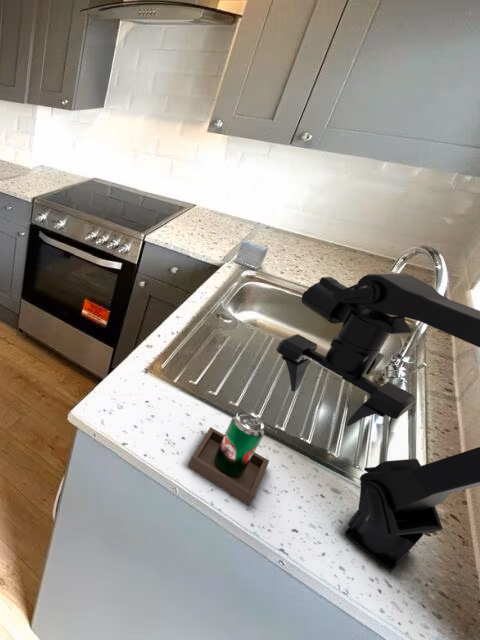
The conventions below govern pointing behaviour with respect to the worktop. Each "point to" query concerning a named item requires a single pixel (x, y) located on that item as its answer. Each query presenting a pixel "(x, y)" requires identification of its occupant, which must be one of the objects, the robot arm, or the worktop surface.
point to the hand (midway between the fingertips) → (320, 407)
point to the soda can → (239, 443)
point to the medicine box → (251, 254)
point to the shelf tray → (235, 485)
